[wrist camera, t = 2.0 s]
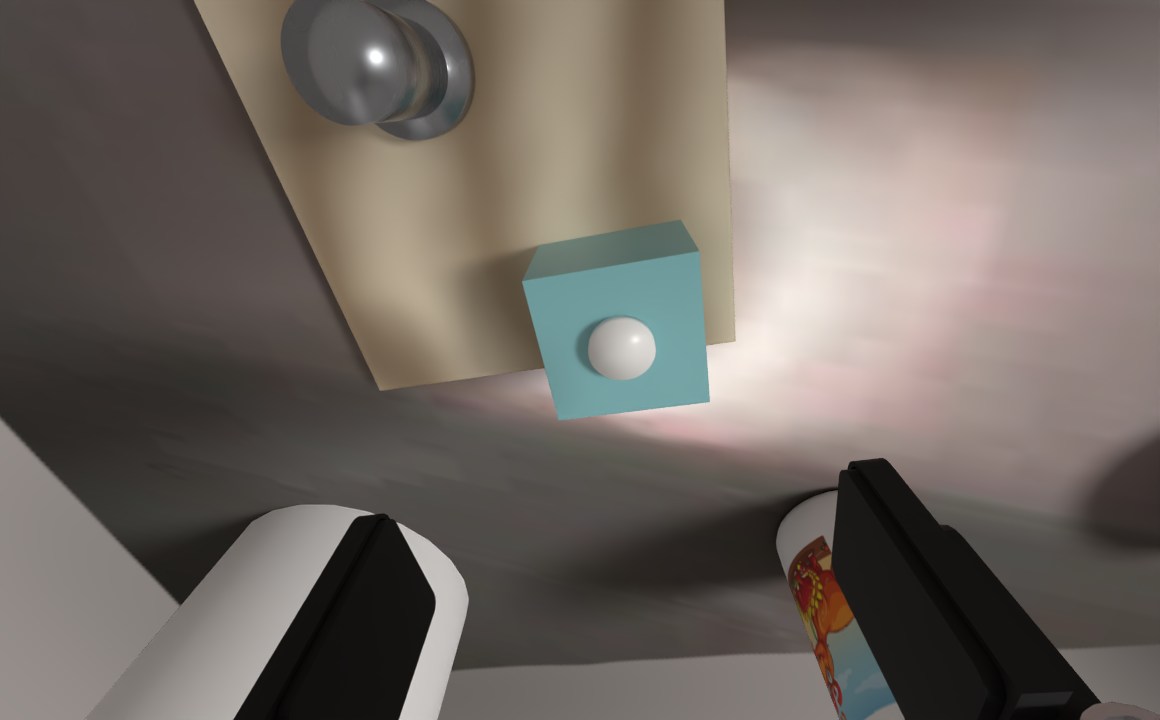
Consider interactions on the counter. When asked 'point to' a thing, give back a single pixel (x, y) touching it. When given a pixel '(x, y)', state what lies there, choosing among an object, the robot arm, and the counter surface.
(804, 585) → the milk bottle
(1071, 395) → the counter surface
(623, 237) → the teal knob cube
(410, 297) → the board
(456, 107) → the stud
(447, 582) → the white stepped round block
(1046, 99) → the counter surface
